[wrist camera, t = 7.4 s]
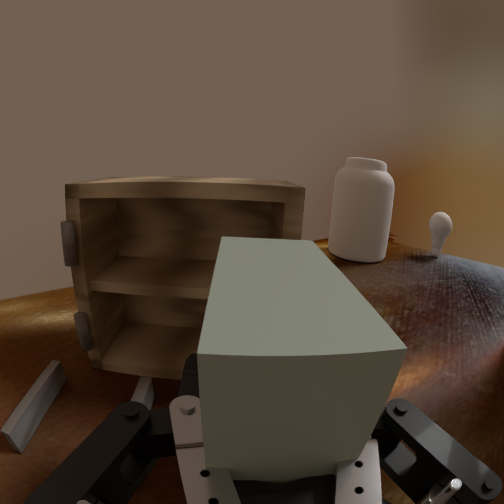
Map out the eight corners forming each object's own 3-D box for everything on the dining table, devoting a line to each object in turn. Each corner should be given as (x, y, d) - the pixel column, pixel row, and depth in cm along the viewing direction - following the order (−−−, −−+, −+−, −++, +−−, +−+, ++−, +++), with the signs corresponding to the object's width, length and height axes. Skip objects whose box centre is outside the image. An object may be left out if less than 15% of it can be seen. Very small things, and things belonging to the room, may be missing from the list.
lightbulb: (449, 261, 59) (458, 216, 56) (429, 259, 60) (437, 212, 57) (439, 254, 65) (447, 212, 62) (420, 252, 66) (427, 208, 63)
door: (296, 433, 17) (333, 241, 13) (318, 542, 9) (443, 343, 5) (220, 433, 17) (221, 236, 13) (217, 547, 8) (197, 353, 5)
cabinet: (272, 332, 30) (285, 181, 25) (304, 499, 12) (389, 219, 7) (102, 320, 29) (89, 178, 24) (13, 449, 11) (-75, 215, 6)
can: (315, 251, 61) (324, 153, 55) (347, 244, 68) (356, 159, 63) (367, 268, 52) (380, 157, 46) (393, 257, 59) (405, 165, 54)
